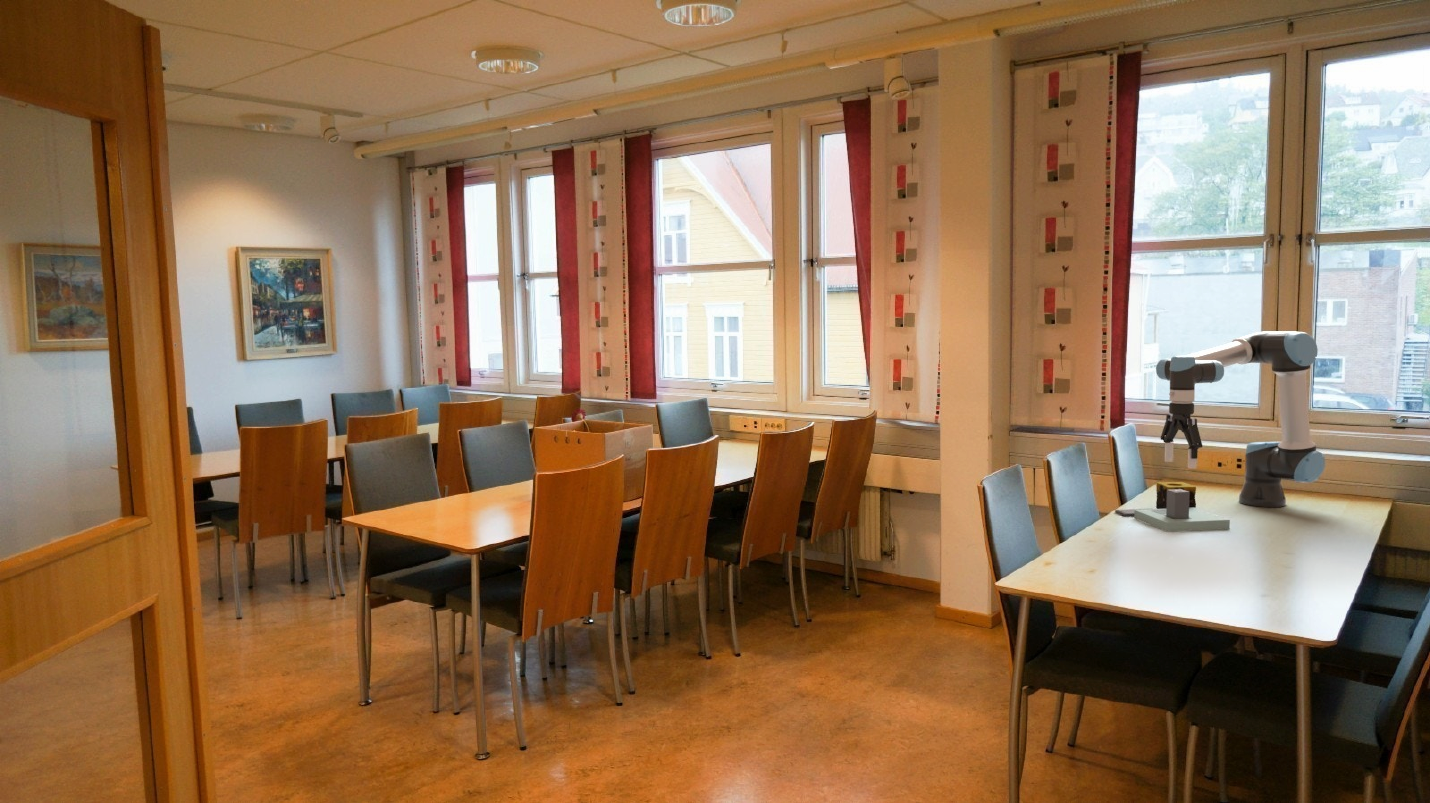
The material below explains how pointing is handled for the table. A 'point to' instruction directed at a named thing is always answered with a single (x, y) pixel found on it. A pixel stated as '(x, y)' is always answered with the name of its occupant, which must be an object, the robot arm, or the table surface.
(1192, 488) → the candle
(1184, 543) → the table surface
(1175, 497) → the grey rectangular block
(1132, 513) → the phone
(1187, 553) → the table surface
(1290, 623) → the table surface
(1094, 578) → the table surface
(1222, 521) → the outlet board
